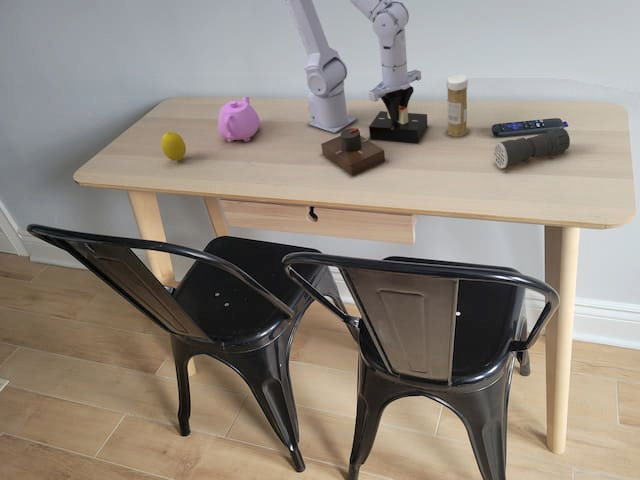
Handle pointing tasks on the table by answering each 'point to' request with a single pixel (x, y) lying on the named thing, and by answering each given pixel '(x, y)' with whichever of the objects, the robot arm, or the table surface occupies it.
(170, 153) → the lemon
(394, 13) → the robot arm
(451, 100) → the sprinkles bottle
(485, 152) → the table surface
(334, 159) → the walnut console
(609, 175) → the table surface
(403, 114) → the bar knob
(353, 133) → the round dial
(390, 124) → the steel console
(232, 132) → the teapot
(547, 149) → the flashlight
